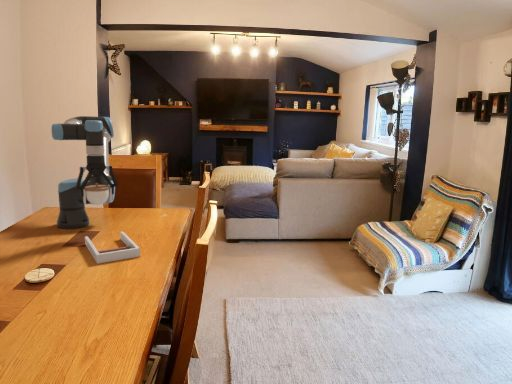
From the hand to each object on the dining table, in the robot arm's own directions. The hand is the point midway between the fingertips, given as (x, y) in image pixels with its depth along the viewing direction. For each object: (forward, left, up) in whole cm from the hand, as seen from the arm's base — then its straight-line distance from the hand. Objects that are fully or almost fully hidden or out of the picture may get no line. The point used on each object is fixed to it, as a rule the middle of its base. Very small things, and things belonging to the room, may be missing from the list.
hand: (97, 202), depth 182 cm
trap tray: (+31, 0, -16) cm, 35 cm away
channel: (+24, 0, -16) cm, 28 cm away
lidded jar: (0, 0, -1) cm, 1 cm away
